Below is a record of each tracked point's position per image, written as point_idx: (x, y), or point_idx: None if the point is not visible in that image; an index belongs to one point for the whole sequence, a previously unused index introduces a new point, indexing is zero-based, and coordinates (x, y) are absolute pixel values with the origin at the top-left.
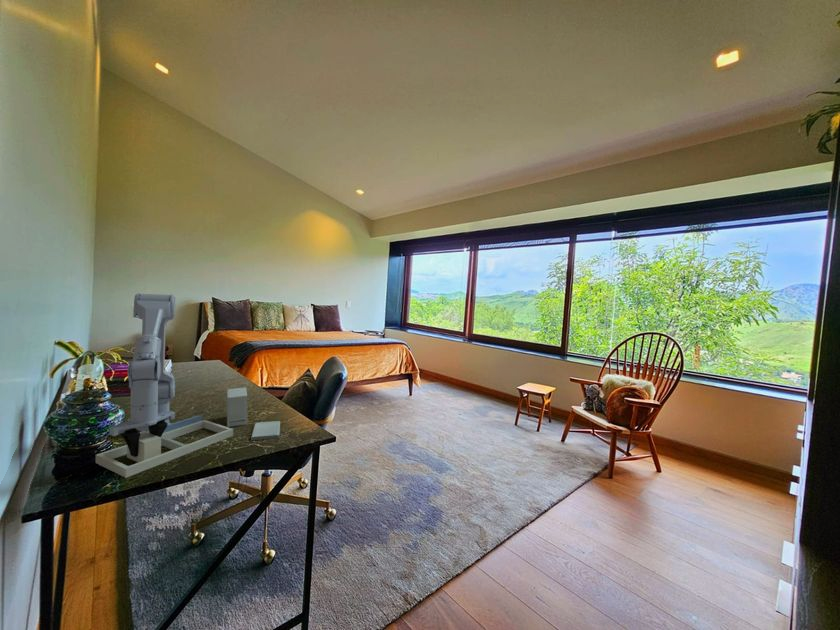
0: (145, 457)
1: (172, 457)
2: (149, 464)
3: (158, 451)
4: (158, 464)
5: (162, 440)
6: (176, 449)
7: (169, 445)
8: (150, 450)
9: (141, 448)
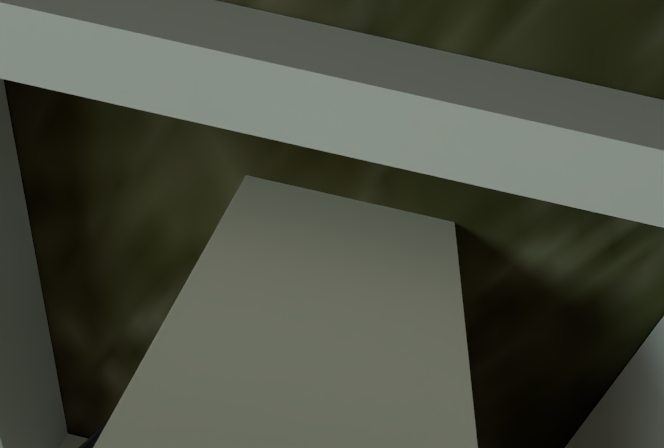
0: (443, 286)
1: (169, 3)
2: (555, 94)
3: (244, 256)
4: (404, 42)
5: (21, 429)
6: (22, 42)
7: (16, 311)
8: (366, 335)
9: None
